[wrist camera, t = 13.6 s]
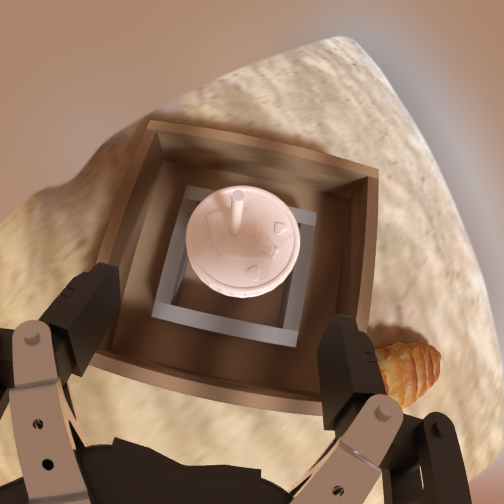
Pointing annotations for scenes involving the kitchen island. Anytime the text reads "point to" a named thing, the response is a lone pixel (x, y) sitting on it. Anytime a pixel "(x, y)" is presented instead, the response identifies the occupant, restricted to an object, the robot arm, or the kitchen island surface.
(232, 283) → the smoothie
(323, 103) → the kitchen island surface
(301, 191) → the crate
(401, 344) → the pastry
